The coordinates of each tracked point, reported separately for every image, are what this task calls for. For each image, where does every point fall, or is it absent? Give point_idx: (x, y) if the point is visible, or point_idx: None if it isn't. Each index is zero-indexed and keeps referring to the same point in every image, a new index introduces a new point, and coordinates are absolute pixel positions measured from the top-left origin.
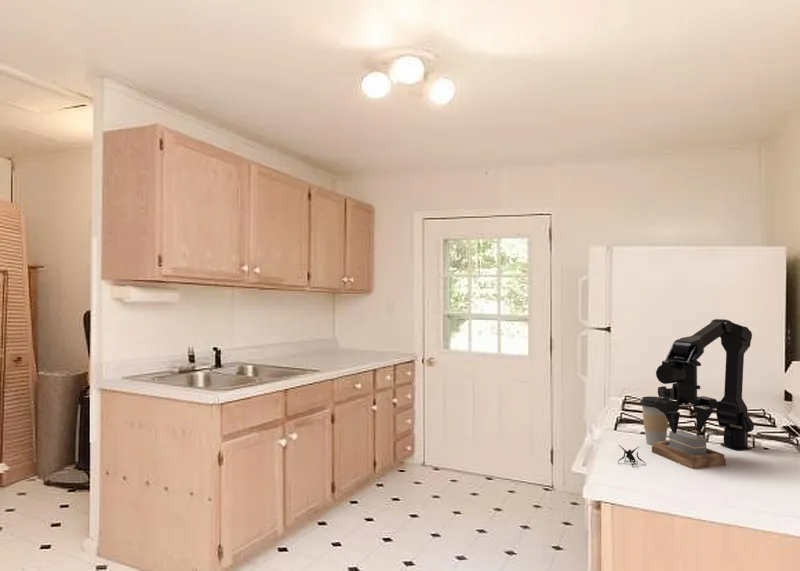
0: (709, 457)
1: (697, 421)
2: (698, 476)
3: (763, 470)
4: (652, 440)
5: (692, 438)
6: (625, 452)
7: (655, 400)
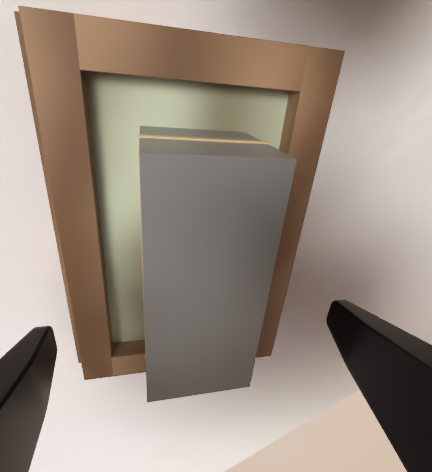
0: None
1: (396, 365)
2: None
3: (318, 368)
4: None
5: (164, 377)
6: None
7: None
